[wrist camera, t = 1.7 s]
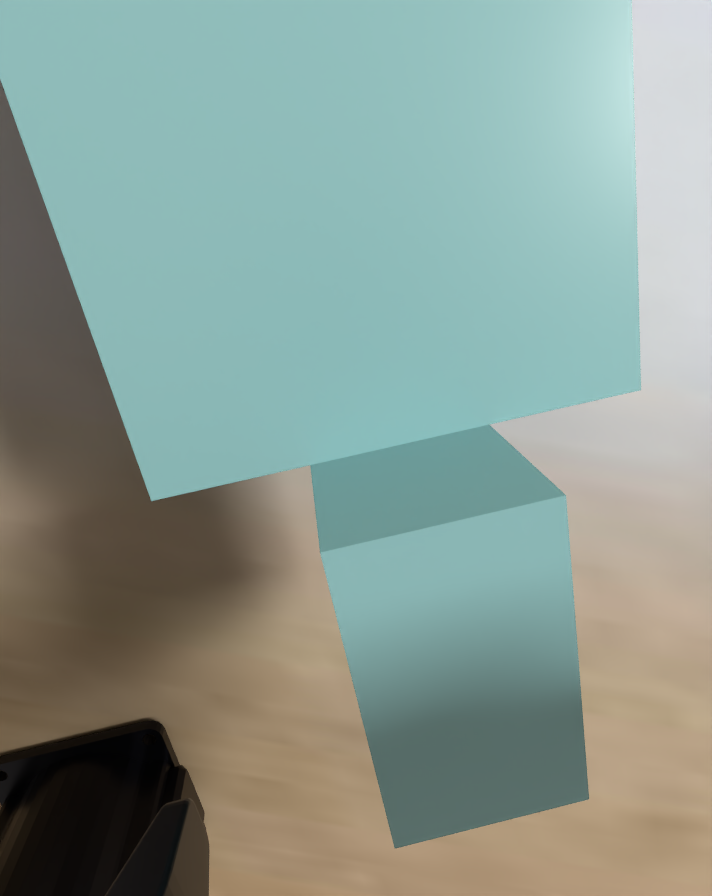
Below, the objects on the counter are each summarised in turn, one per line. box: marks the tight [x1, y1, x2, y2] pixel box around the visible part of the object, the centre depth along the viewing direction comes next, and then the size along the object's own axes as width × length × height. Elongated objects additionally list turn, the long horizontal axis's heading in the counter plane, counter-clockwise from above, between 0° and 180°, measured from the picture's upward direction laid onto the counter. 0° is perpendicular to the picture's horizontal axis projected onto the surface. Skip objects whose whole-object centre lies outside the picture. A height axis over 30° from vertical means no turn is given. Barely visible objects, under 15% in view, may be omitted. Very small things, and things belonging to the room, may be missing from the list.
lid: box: [0, 0, 641, 848], centre depth 9 cm, size 10×21×5 cm, turn 11°
